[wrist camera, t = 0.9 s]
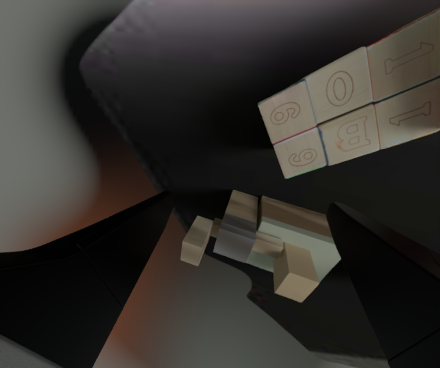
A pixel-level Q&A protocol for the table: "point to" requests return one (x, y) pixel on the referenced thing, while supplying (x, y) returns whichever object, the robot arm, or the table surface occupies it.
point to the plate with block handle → (296, 258)
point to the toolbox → (250, 217)
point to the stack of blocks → (360, 101)
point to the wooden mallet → (206, 228)
